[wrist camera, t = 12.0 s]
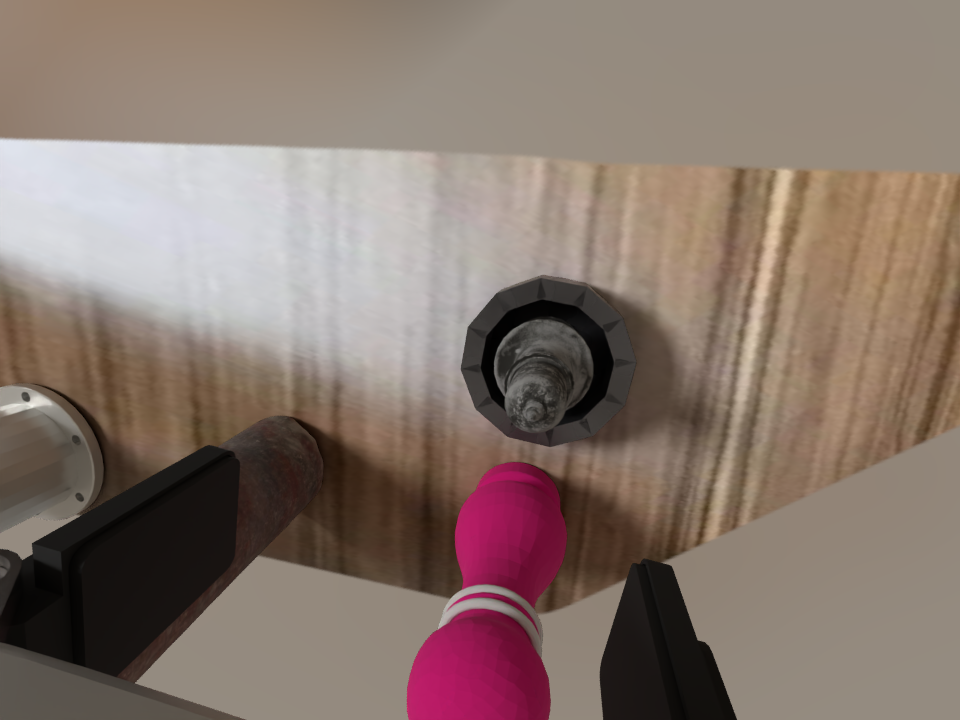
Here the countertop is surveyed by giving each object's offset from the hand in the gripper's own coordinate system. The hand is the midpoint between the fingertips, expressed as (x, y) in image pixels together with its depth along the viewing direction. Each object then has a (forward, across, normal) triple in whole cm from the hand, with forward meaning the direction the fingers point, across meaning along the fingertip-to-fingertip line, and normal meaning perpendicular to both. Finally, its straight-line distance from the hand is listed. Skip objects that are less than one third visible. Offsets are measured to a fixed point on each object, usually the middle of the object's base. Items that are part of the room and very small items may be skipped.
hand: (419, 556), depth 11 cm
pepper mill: (+23, -2, +11) cm, 26 cm away
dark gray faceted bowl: (+23, -2, 0) cm, 23 cm away
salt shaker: (+22, -2, 0) cm, 22 cm away
